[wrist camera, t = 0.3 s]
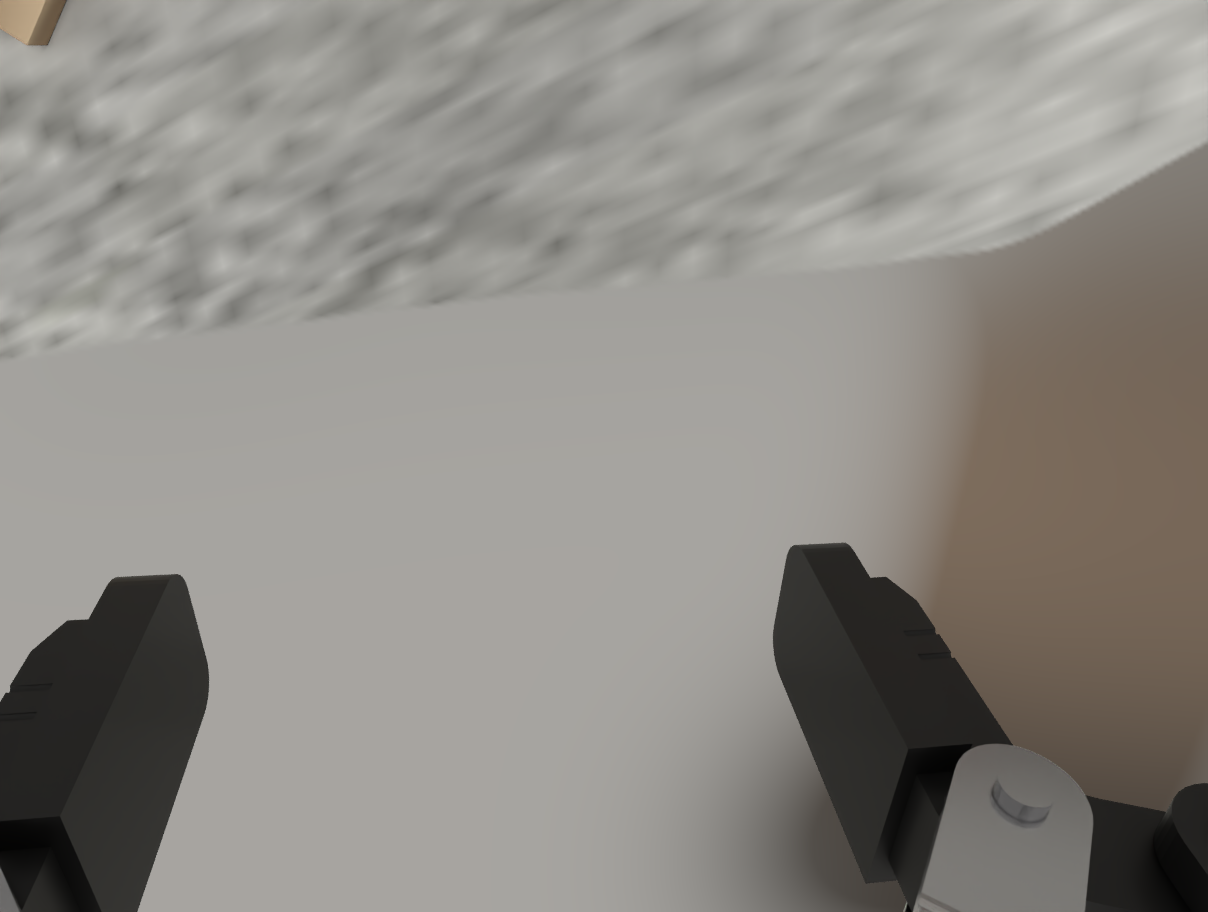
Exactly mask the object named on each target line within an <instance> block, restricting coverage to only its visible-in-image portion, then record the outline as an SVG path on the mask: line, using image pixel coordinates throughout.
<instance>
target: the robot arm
mask: <svg viewBox="0 0 1208 912" xmlns="http://www.w3.org/2000/svg"><path fill="white" fill-rule="evenodd" d="M773 647H774V656H775V662H776V666H777V670H778V672H779V675H780V678H781V680H782V683H783V685H784V687H785V690H786V692H787V695H788V697H789V700H790V702H791V704H792V707H793V709H794V712H795V714H796V716H797V719H798V721H799V724H800V726H801V728H802V731H803V733H804V736H805V738H806V741H807V743H808V745H809V748H810V750H811V752H812V755H813V757H814V760H815V762H816V765H817V767H818V770H819V772H820V774H821V777H822V779H823V781H824V784H825V786H826V789H827V791H828V793H829V796H830V798H831V801H832V803H833V806H834V808H835V810H836V813H837V815H838V818H839V820H840V822H841V825H842V827H843V830H844V832H845V835H846V837H847V839H848V842H849V844H850V847H851V849H852V851H853V854H854V856H855V859H856V861H857V863H858V866H859V868H860V871H861V873H862V876H863V878H864V880H865V883H874V882H885V881H894V880H898V883H899V885H900V887H901V889H902V891H903V894H904V896H905V898H906V900H907V902H906V905H905V908H904V911H903V912H1208V784H1207V783H1202V784H1194V785H1191V786H1188V787H1185V788H1184V789H1182V790H1181V791H1179V792H1178V794H1177V795H1176V796H1175V797H1174V799H1173V801H1172V803H1171V804H1170V806H1169V808H1168V810H1167V811H1166V812H1164V811H1159V810H1154V809H1148V808H1144V807H1138V806H1133V805H1128V804H1123V803H1118V802H1113V801H1108V800H1102V799H1098V798H1094V797H1090V796H1086V795H1085V794H1084V793H1083V791H1082V790H1081V788H1080V787H1079V786H1078V784H1077V783H1076V782H1075V781H1074V780H1073V779H1072V778H1071V777H1070V776H1069V775H1068V774H1067V773H1066V772H1065V771H1063V770H1062V769H1061V768H1059V767H1058V766H1057V765H1055V764H1054V763H1053V762H1051V761H1049V760H1048V759H1046V758H1044V757H1043V756H1041V755H1038V754H1036V753H1034V752H1032V751H1029V750H1026V749H1023V748H1020V747H1017V746H1013V744H1012V743H1011V742H1010V740H1009V739H1008V737H1007V736H1006V734H1005V733H1004V731H1003V730H1002V728H1001V727H1000V725H999V724H998V722H997V721H996V719H995V718H994V716H993V715H992V713H991V712H990V710H989V709H988V707H987V706H986V704H985V703H984V701H983V700H982V698H981V697H980V695H979V693H978V692H977V691H976V689H975V688H974V686H973V685H972V683H971V682H970V680H969V678H968V677H967V675H966V674H965V672H964V671H963V669H962V668H961V666H960V665H959V663H958V662H957V660H956V659H955V658H951V652H950V650H949V648H948V647H947V645H946V644H945V642H944V641H943V639H942V638H941V636H940V635H939V634H937V635H936V633H935V627H934V626H933V624H932V623H931V621H930V620H929V618H928V617H927V615H926V614H925V612H924V611H923V610H922V608H921V607H920V605H919V603H918V602H917V601H916V600H915V599H914V598H913V597H911V596H910V595H909V594H908V593H906V592H905V591H904V590H902V589H901V588H900V587H899V586H897V585H896V584H895V583H893V582H892V581H891V580H889V579H888V578H887V577H877V578H870V577H869V575H868V574H867V572H866V570H865V568H864V567H863V565H862V564H861V562H860V560H859V559H858V557H857V556H856V554H855V552H854V551H853V549H852V548H851V547H850V546H849V545H848V544H846V543H829V544H809V545H794V546H792V547H791V548H790V550H789V552H788V554H787V559H786V563H785V569H784V574H783V580H782V585H781V591H780V596H779V602H778V607H777V613H776V618H775V624H774V630H773ZM208 692H209V672H208V664H207V659H206V656H205V652H204V648H203V644H202V640H201V637H200V633H199V629H198V625H197V622H196V618H195V614H194V610H193V606H192V603H191V599H190V595H189V591H188V588H187V585H186V582H185V580H184V579H183V577H181V575H178V574H171V575H153V576H131V577H116V578H114V579H112V580H111V581H110V582H109V584H108V585H107V587H106V589H105V590H104V592H103V594H102V596H101V598H100V599H99V601H98V603H97V605H96V607H95V608H94V610H93V612H92V614H91V616H90V618H89V619H88V620H70V621H66V622H65V623H64V624H63V625H62V626H60V627H59V628H58V629H57V630H56V631H54V632H53V633H52V634H51V635H50V636H49V637H47V638H46V639H45V640H44V641H43V642H41V643H40V644H39V645H38V646H37V647H36V648H35V649H33V650H32V651H31V652H30V654H29V655H28V657H27V659H26V661H25V662H24V664H23V666H22V667H21V669H20V670H19V672H18V674H17V675H16V677H15V678H14V680H13V682H12V683H11V685H10V692H9V693H5V695H4V697H3V698H2V700H1V702H0V912H137V911H138V908H139V905H140V902H141V899H142V896H143V893H144V890H145V887H146V884H147V881H148V878H149V875H150V872H151V870H152V867H153V864H154V861H155V858H156V855H157V852H158V849H159V846H160V843H161V840H162V837H163V834H164V831H165V828H166V825H167V822H168V819H169V816H170V814H171V811H172V807H173V805H174V802H175V799H176V796H177V792H178V790H179V787H180V784H181V781H182V778H183V775H184V772H185V769H186V766H187V763H188V760H189V758H190V755H191V752H192V749H193V746H194V743H195V739H196V737H197V734H198V731H199V728H200V725H201V722H202V719H203V716H204V713H205V710H206V705H207V700H208Z"/></svg>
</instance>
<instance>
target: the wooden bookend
mask: <svg viewBox="0 0 1208 912" xmlns="http://www.w3.org/2000/svg"><path fill="white" fill-rule="evenodd" d="M65 2H66V0H0V29H2V30H3V31H5V32H6V33H8V34H10V35H11V36H13V37H14V38H16V39H18V40H19V41H21V42H22V43H24V44H26V45H48V42H49V40H50V37H51V35H52V33H53V30H54V28H55V26H56V23H57V21H58V19H59V16H60V14H61V11H62V9H63V7H64V4H65Z"/></svg>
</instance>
